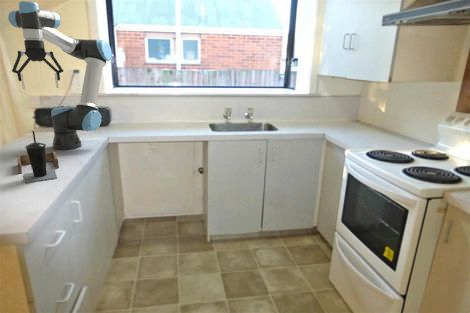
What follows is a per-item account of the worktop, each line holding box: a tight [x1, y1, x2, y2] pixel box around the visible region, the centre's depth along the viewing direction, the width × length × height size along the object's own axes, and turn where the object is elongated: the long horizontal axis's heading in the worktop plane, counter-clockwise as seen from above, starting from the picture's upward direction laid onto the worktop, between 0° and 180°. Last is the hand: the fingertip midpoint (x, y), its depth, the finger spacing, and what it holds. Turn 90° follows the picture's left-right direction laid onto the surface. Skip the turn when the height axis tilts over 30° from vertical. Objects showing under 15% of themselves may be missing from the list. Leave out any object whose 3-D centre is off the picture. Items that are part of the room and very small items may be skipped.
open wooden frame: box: [16, 151, 60, 175], centre depth 156 cm, size 16×15×4 cm
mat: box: [23, 168, 58, 184], centre depth 144 cm, size 12×12×1 cm
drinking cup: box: [24, 130, 48, 177], centre depth 141 cm, size 8×8×20 cm
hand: (41, 88), depth 151 cm, fingers open, 13 cm apart
